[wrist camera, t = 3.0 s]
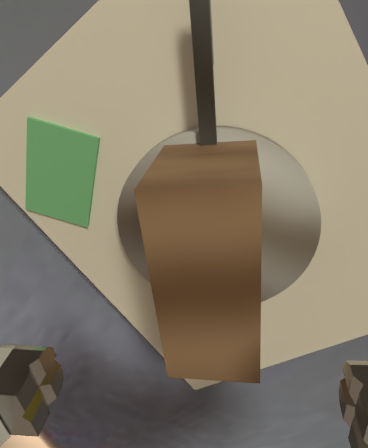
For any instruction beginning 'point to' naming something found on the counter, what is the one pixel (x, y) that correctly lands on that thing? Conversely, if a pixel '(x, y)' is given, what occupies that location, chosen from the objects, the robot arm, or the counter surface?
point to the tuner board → (187, 119)
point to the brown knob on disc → (216, 232)
